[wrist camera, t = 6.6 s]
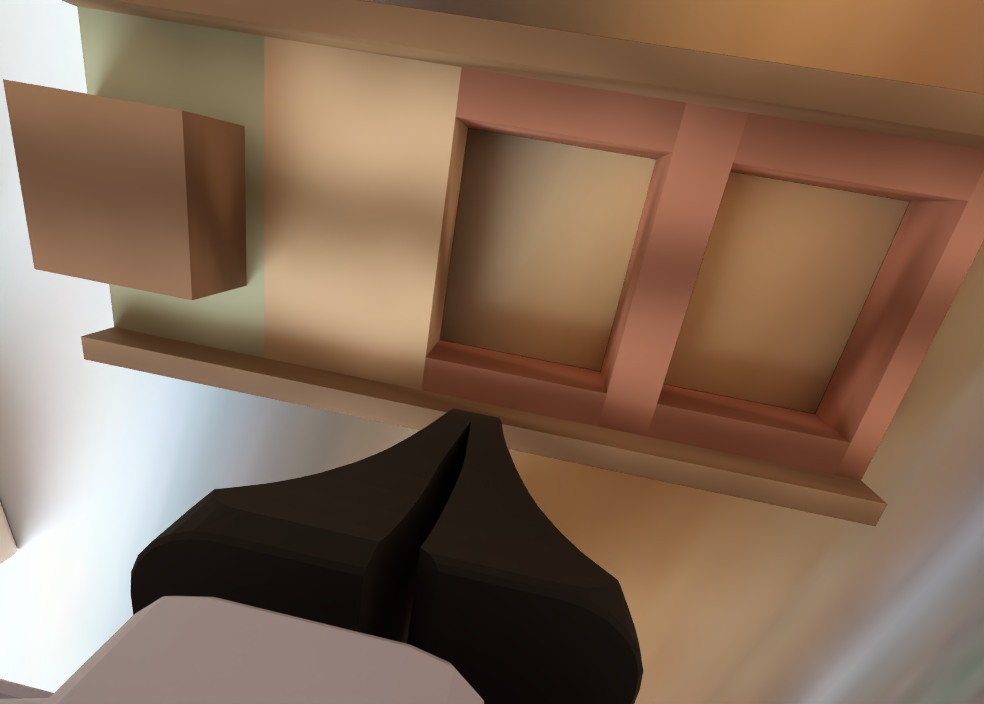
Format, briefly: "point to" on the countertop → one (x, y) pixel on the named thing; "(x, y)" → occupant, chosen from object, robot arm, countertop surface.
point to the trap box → (433, 207)
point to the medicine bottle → (5, 538)
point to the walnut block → (130, 191)
